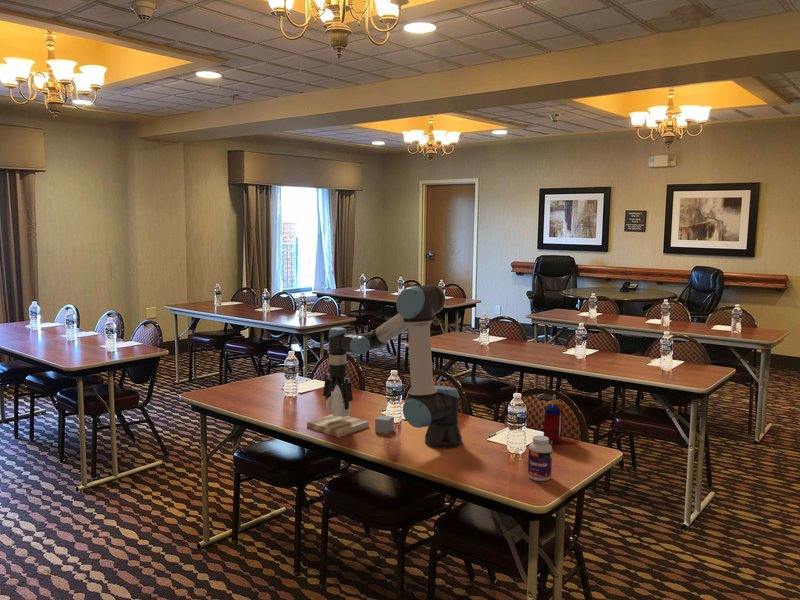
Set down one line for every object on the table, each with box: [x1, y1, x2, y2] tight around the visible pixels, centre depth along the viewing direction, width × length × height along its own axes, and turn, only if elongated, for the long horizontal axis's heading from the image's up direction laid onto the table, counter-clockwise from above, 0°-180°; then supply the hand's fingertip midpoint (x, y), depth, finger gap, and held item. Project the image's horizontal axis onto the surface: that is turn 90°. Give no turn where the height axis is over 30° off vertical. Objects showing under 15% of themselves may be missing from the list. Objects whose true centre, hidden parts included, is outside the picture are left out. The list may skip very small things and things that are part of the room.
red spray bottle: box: [538, 394, 564, 447], centre depth 259 cm, size 15×9×20 cm, turn 160°
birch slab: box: [306, 413, 370, 438], centre depth 277 cm, size 20×18×3 cm
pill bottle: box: [527, 435, 553, 482], centre depth 222 cm, size 8×8×14 cm
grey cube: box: [374, 414, 395, 435], centre depth 272 cm, size 6×6×6 cm
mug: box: [325, 389, 351, 416], centre depth 276 cm, size 12×8×10 cm
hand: (337, 414), depth 277 cm, fingers closed on mug, 8 cm apart
